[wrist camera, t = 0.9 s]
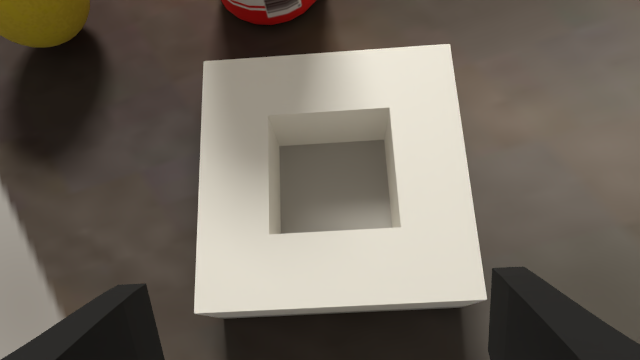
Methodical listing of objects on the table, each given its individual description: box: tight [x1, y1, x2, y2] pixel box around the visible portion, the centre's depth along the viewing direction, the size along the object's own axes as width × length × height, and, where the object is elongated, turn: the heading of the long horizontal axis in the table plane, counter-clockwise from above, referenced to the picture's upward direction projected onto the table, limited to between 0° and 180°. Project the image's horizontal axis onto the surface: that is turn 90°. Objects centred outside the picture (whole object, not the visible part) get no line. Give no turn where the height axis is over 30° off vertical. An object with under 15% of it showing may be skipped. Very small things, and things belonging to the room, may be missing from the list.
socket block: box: [194, 44, 487, 319], centre depth 22 cm, size 11×11×4 cm
